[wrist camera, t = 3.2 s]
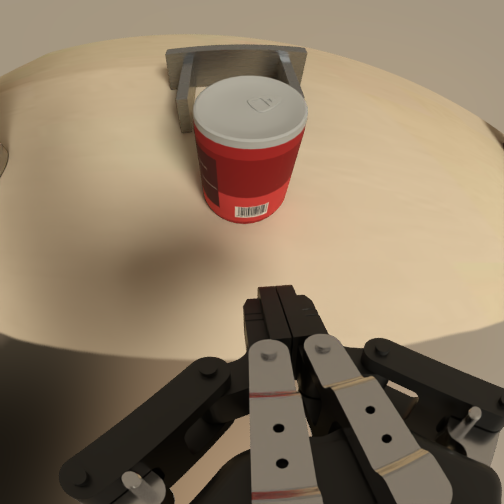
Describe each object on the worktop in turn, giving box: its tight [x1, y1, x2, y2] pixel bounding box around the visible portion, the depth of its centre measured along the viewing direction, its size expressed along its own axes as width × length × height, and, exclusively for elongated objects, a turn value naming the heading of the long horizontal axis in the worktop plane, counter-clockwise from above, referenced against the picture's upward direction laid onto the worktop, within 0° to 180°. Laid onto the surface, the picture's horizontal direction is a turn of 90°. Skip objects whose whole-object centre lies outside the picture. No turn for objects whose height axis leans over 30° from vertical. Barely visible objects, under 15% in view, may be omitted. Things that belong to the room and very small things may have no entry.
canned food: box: [193, 76, 308, 224], centre depth 22 cm, size 8×8×11 cm
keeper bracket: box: [165, 45, 307, 133], centre depth 30 cm, size 11×18×6 cm, turn 95°
